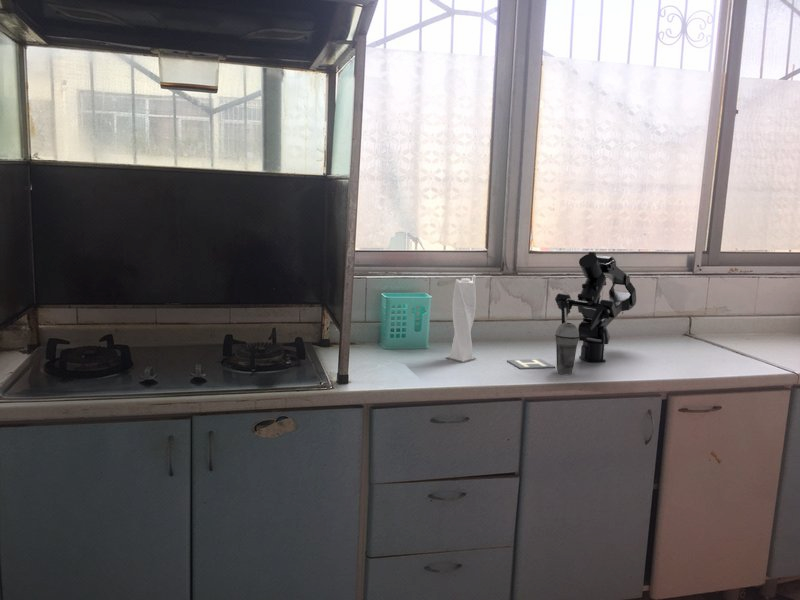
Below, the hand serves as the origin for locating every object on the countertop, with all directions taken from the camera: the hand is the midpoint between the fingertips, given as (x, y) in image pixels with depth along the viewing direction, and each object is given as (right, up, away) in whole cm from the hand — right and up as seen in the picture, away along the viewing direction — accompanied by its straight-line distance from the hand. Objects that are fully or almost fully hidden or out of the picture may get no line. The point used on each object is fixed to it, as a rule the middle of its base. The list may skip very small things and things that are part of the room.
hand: (576, 326), depth 215 cm
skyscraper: (-35, -11, +8) cm, 38 cm away
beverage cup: (-5, -14, -4) cm, 16 cm away
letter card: (-13, -12, +5) cm, 19 cm away
